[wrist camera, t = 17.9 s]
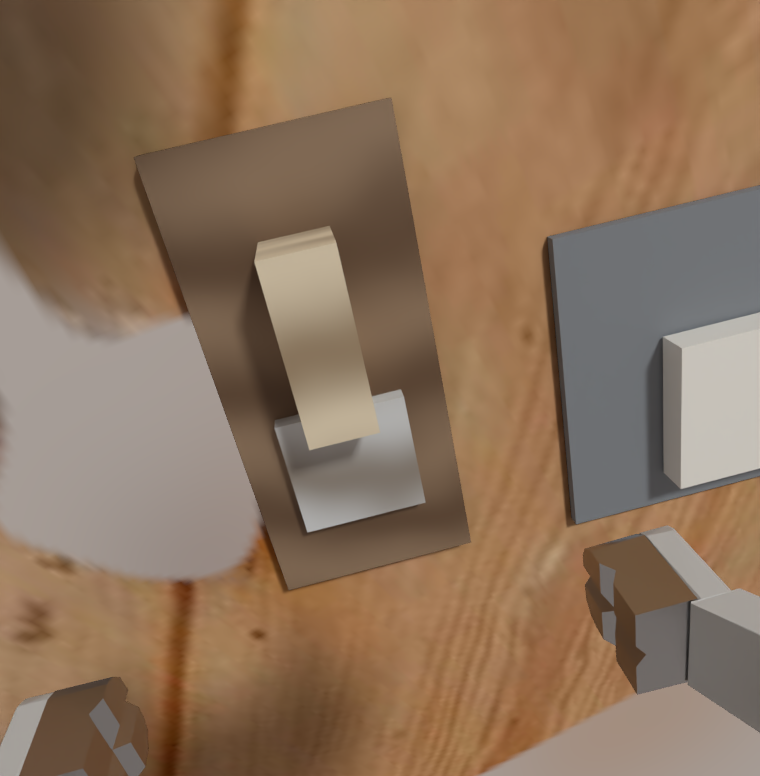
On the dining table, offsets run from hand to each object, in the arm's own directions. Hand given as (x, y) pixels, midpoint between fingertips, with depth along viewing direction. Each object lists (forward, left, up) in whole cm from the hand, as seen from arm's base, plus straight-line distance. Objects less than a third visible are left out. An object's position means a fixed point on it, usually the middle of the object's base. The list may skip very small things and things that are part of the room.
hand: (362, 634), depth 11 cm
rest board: (+3, 0, -19) cm, 19 cm away
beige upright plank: (+3, 0, -18) cm, 18 cm away
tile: (+5, +20, -17) cm, 27 cm away
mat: (+7, +20, -19) cm, 28 cm away
